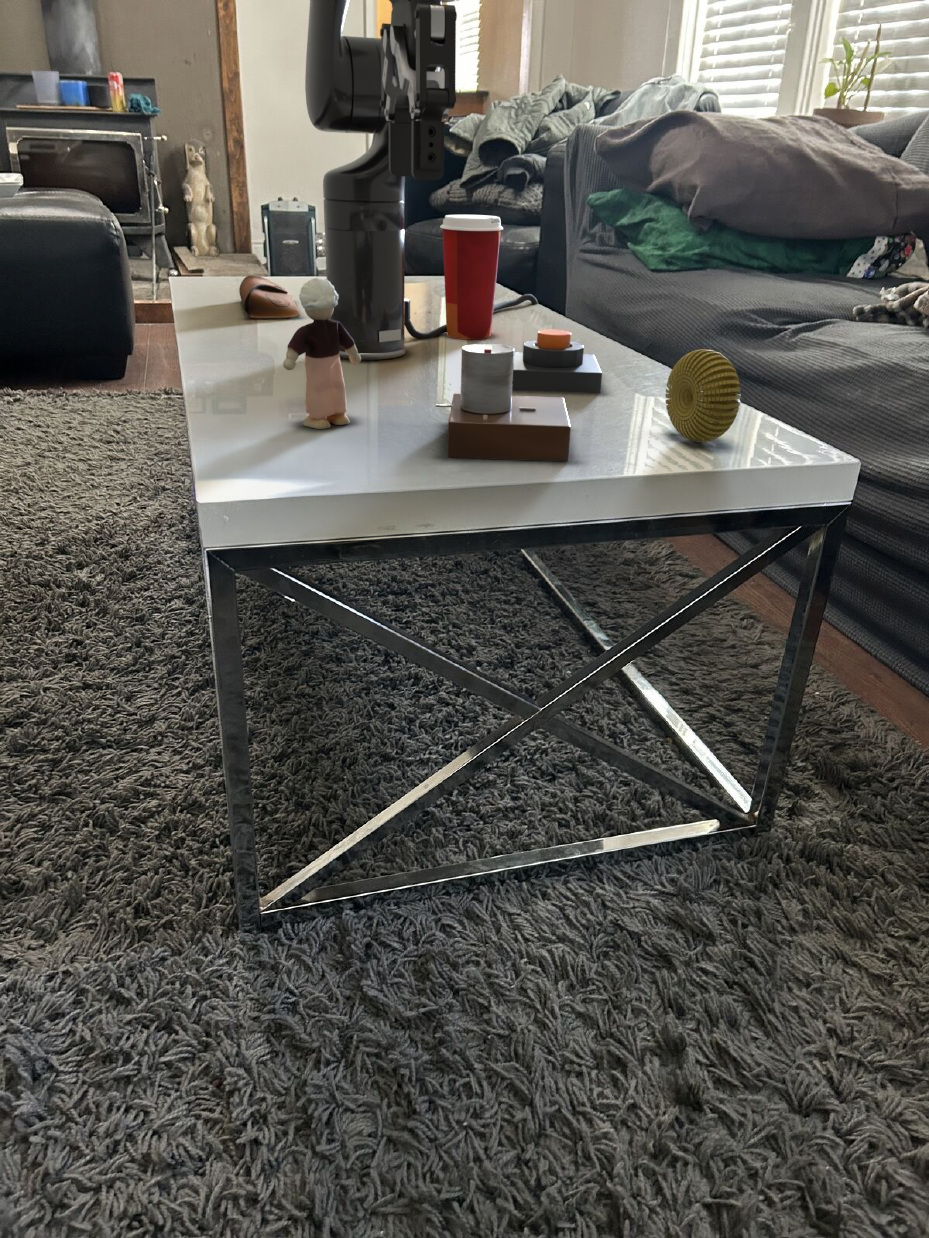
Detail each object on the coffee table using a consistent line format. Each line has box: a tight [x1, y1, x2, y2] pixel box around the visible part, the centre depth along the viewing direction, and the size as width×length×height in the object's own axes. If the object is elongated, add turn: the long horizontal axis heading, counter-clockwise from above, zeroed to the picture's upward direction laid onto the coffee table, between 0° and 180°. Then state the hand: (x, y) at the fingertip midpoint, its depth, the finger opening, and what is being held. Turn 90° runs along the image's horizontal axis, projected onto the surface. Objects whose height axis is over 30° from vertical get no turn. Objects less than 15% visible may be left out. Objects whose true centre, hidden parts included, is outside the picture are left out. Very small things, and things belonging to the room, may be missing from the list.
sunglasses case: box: [238, 274, 301, 320], centre depth 145 cm, size 18×7×7 cm
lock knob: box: [460, 342, 515, 414], centre depth 81 cm, size 4×4×5 cm
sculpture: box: [664, 348, 742, 443], centre depth 84 cm, size 8×4×8 cm, turn 24°
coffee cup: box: [439, 214, 504, 340], centre depth 127 cm, size 8×8×15 cm
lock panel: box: [435, 393, 572, 462], centre depth 83 cm, size 10×11×3 cm
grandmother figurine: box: [282, 277, 362, 430], centre depth 85 cm, size 8×4×13 cm, turn 141°
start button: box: [536, 328, 572, 349], centre depth 104 cm, size 4×4×2 cm
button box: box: [512, 339, 603, 394], centre depth 105 cm, size 10×10×4 cm
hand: (414, 178), depth 72 cm, fingers open, 8 cm apart
